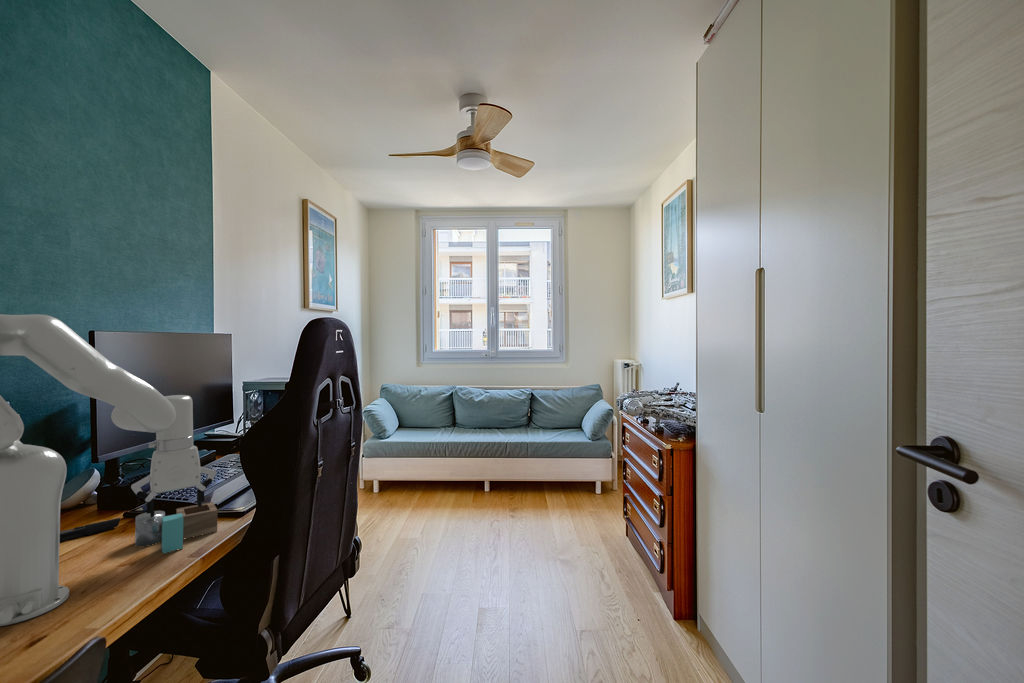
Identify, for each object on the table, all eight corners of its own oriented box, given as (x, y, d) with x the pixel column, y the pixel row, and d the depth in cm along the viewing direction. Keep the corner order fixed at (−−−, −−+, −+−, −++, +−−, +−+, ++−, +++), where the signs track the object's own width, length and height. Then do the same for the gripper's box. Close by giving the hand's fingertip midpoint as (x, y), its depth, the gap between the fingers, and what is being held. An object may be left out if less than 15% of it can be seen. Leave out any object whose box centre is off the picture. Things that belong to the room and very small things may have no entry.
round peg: (165, 542, 115) (165, 515, 116) (135, 548, 111) (135, 521, 112) (163, 534, 120) (164, 509, 120) (134, 541, 116) (135, 514, 116)
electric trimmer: (121, 530, 124) (121, 518, 124) (40, 548, 112) (41, 535, 112) (118, 526, 126) (119, 515, 126) (39, 544, 114) (40, 532, 114)
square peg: (182, 549, 111) (183, 517, 112) (162, 554, 109) (163, 521, 109) (181, 543, 114) (181, 513, 115) (161, 548, 112) (162, 516, 112)
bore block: (217, 531, 122) (217, 510, 122) (178, 540, 116) (179, 517, 116) (212, 522, 128) (212, 501, 128) (175, 530, 123) (176, 508, 123)
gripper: (130, 453, 104) (132, 524, 104) (217, 441, 115) (218, 505, 116) (130, 447, 109) (131, 515, 110) (213, 436, 121) (214, 497, 121)
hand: (176, 510), depth 113 cm, fingers open, 9 cm apart
